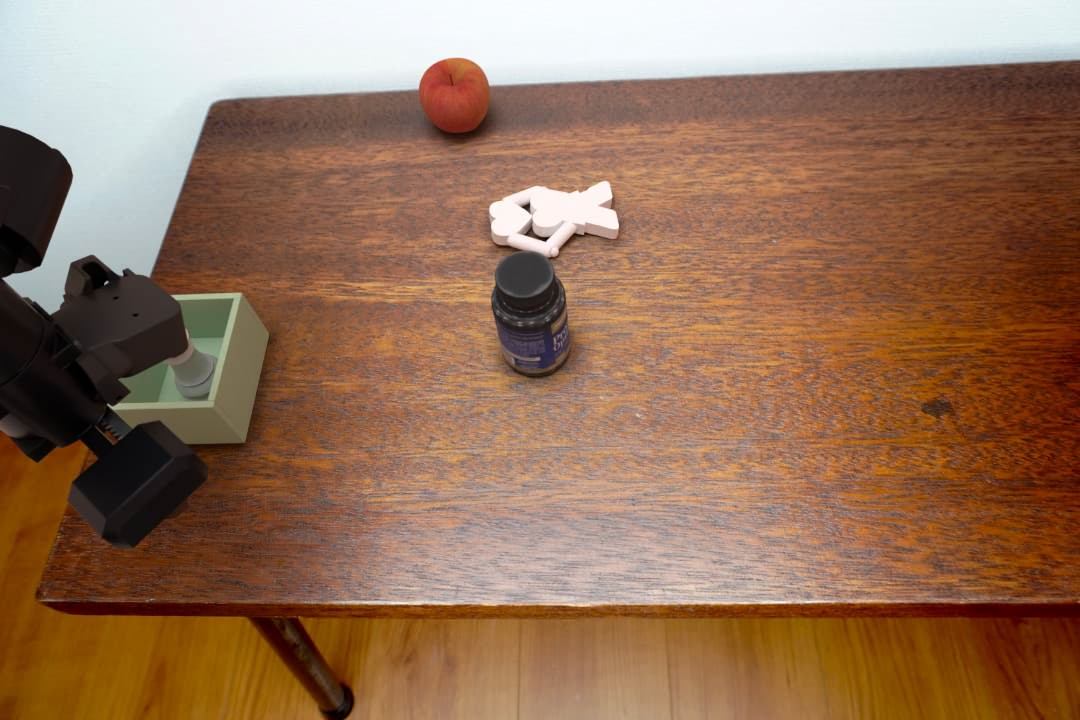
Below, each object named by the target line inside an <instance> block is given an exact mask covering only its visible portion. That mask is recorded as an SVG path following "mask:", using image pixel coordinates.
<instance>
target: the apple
mask: <svg viewBox="0 0 1080 720" xmlns="http://www.w3.org/2000/svg"><path fill="white" fill-rule="evenodd" d="M418 99H419V102H420V103H419V104H420V106H421V108H422V110H423V112H424V114H425V115H426V117H427V118H428V120H429V121H430V122H431V123H432V124H433V125H434V126H436V127H437V128H439V129H440V130H442V131H444V132H447V133H452V134H460V133H468V132H471V131H474V130H475V129H476V128H477V127H478V126H479V125H480V124H481V123H482V121H483V120H484V118H485V116H486V114H487V112H488V109H489V106H490V102H491V89H490V84H489V80H488V77H487V75H486V73H485V71H484V70H483V69H482V67H481V66H480V65H479V64H478V63H476V62H475V61H473V60H471V59H468V58H464V57H448V58H444V59H441V60H438V61H436V62H434V63H433V64H432V65H430V66H429V67H428V68H427V69H426V71H424V73H423V74H422V76H421V78H420V80H419V85H418Z"/></svg>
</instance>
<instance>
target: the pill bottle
mask: <svg viewBox="0 0 1080 720" xmlns="http://www.w3.org/2000/svg"><path fill="white" fill-rule="evenodd" d="M494 281H495V284H494V286H493V289H492V291H491V297H490V305H491V310H492V315H493V318H494V322H495V328H496V332H497V336H498V340H499V344H500V348H501V352H502V356H503V358H504V361H505V362H506V363H507V365H508V366H509V367H510V368H511V369H512V370H513V371H515V372H516V373H519V374H522V375H523V376H528V377H542V376H546V375H549V374H551V373H554V372H555V371H557V370H559V368H560V367H562V366H563V365H564V364H565V363H566V361H567V360H568V357H569V355H570V352H571V335H570V334H571V333H570V324H569V315H568V306H567V305H568V304H567V295H566V289H565V286H564V284H563V283H562V281H561V279H560V278H559V277H558V276H557V275H556V273H555V268H554V265H553V263H552V261H551V260H550V259H549V258H547V257H546V256H544V255H543V254H541V253H538V252H535V251H524V250H518V251H515V252H512V253H510V254H508V255H507V256H505V257H504V258H503V259H501V261H500V262H499V263H498V265H497V267H496V268H495V271H494Z"/></svg>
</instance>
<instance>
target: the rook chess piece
mask: <svg viewBox="0 0 1080 720" xmlns="http://www.w3.org/2000/svg"><path fill="white" fill-rule="evenodd" d="M185 330H186V335H187V339H188V344H189V346H188V349H187V350H186V351H185V352H184V353H183V354H181V355H180V356H178V357H176V358H168V359H166V360H164V362H165V363H166V364H169V365H170V366H171V367H172V369H173V371H174V382H175V385H176V387H177V390H178V391H179V392H180V393H181V396H183V397H184V398H185V399H186V400H187V401H191V402H196V401H208V397H209V393H210V389H211V385H212V382H213V378H214V374H215V370H216V366H217V362H218V359H217V358H216V357H215V356H213V355H210V354H206V353H201V352H199V351H198V350H197V349H196V348H195V347H194V344H193V341H192V340H191V339H190V338H189V334H188V331H187V329H186V328H185Z"/></svg>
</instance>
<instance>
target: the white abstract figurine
mask: <svg viewBox="0 0 1080 720" xmlns="http://www.w3.org/2000/svg"><path fill="white" fill-rule="evenodd" d="M612 201H613V192H612V188H611V184H610V182H609V181H607V180H604V181H601V182H598V183H596V184H594V185H592V186H590V187H588V188H587V189H586V190H584V191H582V192H580V191H579V189H577V190H575V191H573V192H570V193H569V192H566V191H562V190H556V189H550V188H548V187H547V186H540V185H534V186H532V187H529V188H526V189H523V190H520V191H519V192H516V193H513V194H510V195H507V196H505V197H503V198H502V199H501V200H499V201H498V200H497V201H494V202H493V203H491V204H490V205H489V211H488V212H489V214H488V215H489V222H490V230H491V231H490V233H491V235H490V236H491V240H492V241H493V242H494V244H497V245H499V246H510V247H511V248H515V249H518V250H520V251H535V252H538V253H541V254H543V255H544V256H546V257H547V258H548V259H549V258H551V257H552V258H555V257H557V256H558V255H559V252H560V249H561V248H562V246H563V245H564V244H565V243H566V242H567V241H568V240H569V239H570V238H571V237H572V236H573V235H574V234H577V235H581V236H582V235H583V236H584V235H585V233H587V234H589V235H595V236H599V237H602V238H606V239H609V240H616V239H618V235H619V230H620V229H619V228H620V226H619V220H618V216H617V212H616V210H614V209H611V208H612ZM527 205H529V206H530V207H529V211H527V210H526V209H525V208H523V207H524V206H527ZM531 228H532V231H533V233H534V234H535V235H536V236H537V237H541V238H548V239H547V240H546V241H543V240H540V239H537V238H535V237H534V238H533V237H530V236H528V235H526V234H527V233H528V232H529V230H530V229H531Z"/></svg>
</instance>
